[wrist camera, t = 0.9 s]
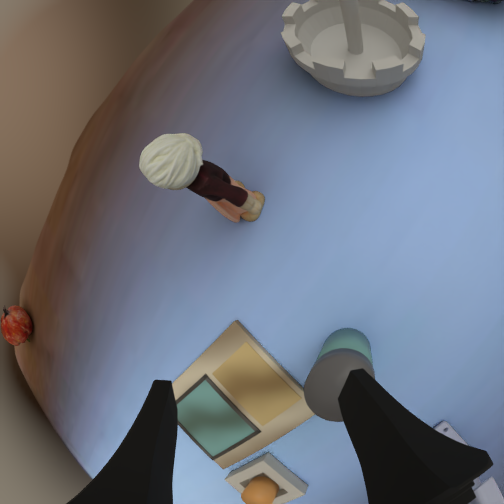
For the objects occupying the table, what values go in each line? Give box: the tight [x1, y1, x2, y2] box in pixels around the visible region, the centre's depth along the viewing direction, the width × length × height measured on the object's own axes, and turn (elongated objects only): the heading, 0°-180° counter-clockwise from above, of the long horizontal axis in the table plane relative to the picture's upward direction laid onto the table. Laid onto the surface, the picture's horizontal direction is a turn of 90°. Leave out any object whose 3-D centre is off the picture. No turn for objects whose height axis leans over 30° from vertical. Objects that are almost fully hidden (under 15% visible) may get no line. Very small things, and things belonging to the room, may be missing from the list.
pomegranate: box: [1, 306, 33, 346], centre depth 37 cm, size 7×7×10 cm
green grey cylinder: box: [304, 328, 375, 422], centre depth 17 cm, size 4×4×8 cm
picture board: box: [172, 320, 315, 469], centre depth 24 cm, size 11×14×1 cm
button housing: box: [224, 452, 308, 504], centre depth 22 cm, size 6×6×2 cm
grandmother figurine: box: [139, 133, 265, 223], centre depth 19 cm, size 8×4×13 cm, turn 66°
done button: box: [241, 476, 279, 504], centre depth 20 cm, size 3×3×2 cm
